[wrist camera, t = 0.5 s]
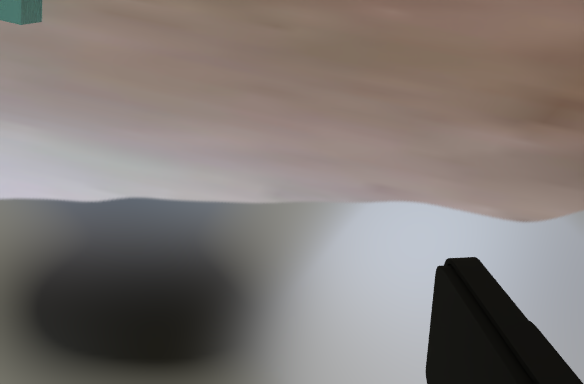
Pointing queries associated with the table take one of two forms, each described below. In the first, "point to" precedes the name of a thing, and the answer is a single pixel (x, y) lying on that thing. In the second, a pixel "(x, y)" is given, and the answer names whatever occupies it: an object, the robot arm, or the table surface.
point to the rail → (21, 11)
